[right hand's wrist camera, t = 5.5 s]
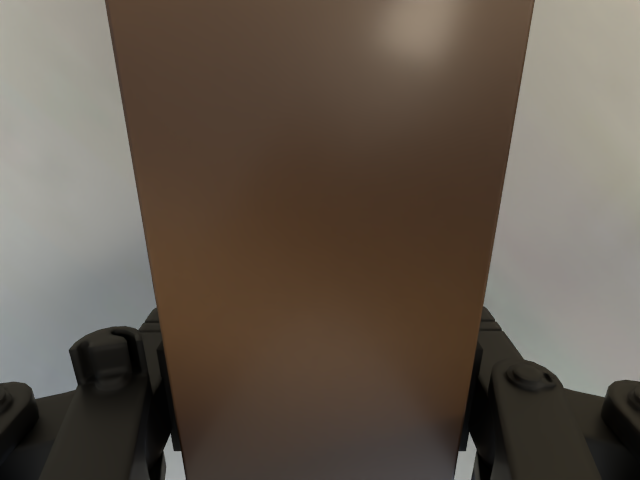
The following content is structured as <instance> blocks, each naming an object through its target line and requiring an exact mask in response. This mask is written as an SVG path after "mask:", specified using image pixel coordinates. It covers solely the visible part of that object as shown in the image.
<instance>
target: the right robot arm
mask: <svg viewBox="0 0 640 480" xmlns="http://www.w3.org/2000/svg"><path fill="white" fill-rule="evenodd" d="M69 353H70V357H71V361H72V364H73V368H74V372H75V376H76V379H77V383H78V386H77V388H76V390H73V391H70V392H66V393H62V394H57V395H52V396H48V397H43V398H38V399H35V398H34V394H33V391H32V388H31V387H29V386H28V385H27V384H25V383H19V382H9V383H1V384H0V480H165V473H166V463H165V457H164V451H163V450H164V447H165V445H166V443H167V440H168V438H169V436H170V433H171V437H172V443H173V449H174V451H181V447H180V441H179V435H178V429H177V423H176V417H175V411H174V405H173V399H172V393H171V387H170V382H169V376H168V370H167V364H166V358H165V352H164V346H163V340H162V334H161V328H160V322H159V317H158V311H157V308H155V309H154V310H153V311H152V312H151V313H150V315H149V316H148V318H147V319H146V320H145V323H143V324H142V326H141V327H140V329H139V330H137V329H135V328H131V327H127V326H120V327H110V328H105V329H101V330H98V331H95V332H93V333H90V334H88V335H86V336H84V337H83V338H81V339H80V340H78V341H77V342H75V343H74V345H73V346H72V347H71V348H70V349H69ZM469 432H470V434H471V437H472V439H473V441H474V444H475V446H476V448H477V451H476V457H475V462H474V467H473V473H472V478H471V480H640V382H638V381H630V380H622V381H615V382H614V383H612V384H611V385H610V386H609V387H608V390H607V393H606V396H605V397H600V396H596V395H591V394H586V393H582V392H577V391H573V390H569V389H565V388H563V385H562V384H561V382H560V381H559V379H558V378H557V376H556V375H554V374H553V373H552V372H550V371H549V370H548V369H546V368H545V367H543V366H541V365H538V364H536V363H534V362H531V361H527V360H524V359H523V357H522V356H521V355H520V353H519V352H518V351H517V349H516V348H515V346H514V345H513V344H512V342H511V341H510V340H509V338H508V337H507V335H506V334H505V333H504V331H502V329H501V327H500V326H499V325H498V323H497V322H495V319H494V318H493V316H492V315H491V314H490V312H489V311H488V309H487V308H485V307H484V306H483V309H482V315H481V321H480V327H479V333H478V339H477V345H476V351H475V357H474V363H473V368H472V374H471V380H470V386H469V392H468V398H467V404H466V410H465V416H464V422H463V428H462V434H461V440H460V445H459V451H466V447H467V441H468V436H469Z"/></svg>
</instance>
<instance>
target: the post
mask: <svg viewBox="0 0 640 480" xmlns="http://www.w3.org/2000/svg"><path fill="white" fill-rule="evenodd" d="M534 1H535V0H105V3H106V9H107V15H108V21H109V27H110V33H111V39H112V45H113V51H114V57H115V63H116V68H117V74H118V80H119V86H120V92H121V98H122V104H123V110H124V116H125V122H126V127H127V133H128V139H129V145H130V151H131V157H132V163H133V169H134V175H135V181H136V187H137V192H138V198H139V204H140V210H141V216H142V222H143V228H144V234H145V240H146V246H147V252H148V257H149V263H150V269H151V275H152V281H153V287H154V293H155V299H156V305H157V311H158V317H159V322H160V328H161V334H162V340H163V346H164V352H165V358H166V364H167V370H168V376H169V382H170V387H171V393H172V399H173V405H174V411H175V417H176V423H177V429H178V435H179V441H180V447H181V452H182V458H183V464H184V470H185V476H186V480H454V475H455V469H456V463H457V457H458V451H459V445H460V440H461V434H462V428H463V422H464V416H465V410H466V404H467V398H468V392H469V386H470V380H471V374H472V368H473V363H474V357H475V351H476V345H477V339H478V333H479V327H480V321H481V315H482V309H483V303H484V297H485V291H486V286H487V280H488V274H489V268H490V262H491V256H492V250H493V244H494V238H495V232H496V226H497V220H498V214H499V208H500V203H501V197H502V191H503V185H504V179H505V173H506V167H507V161H508V155H509V149H510V143H511V137H512V131H513V126H514V120H515V114H516V108H517V102H518V96H519V90H520V84H521V78H522V72H523V66H524V60H525V54H526V49H527V43H528V37H529V31H530V25H531V19H532V13H533V7H534Z"/></svg>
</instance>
